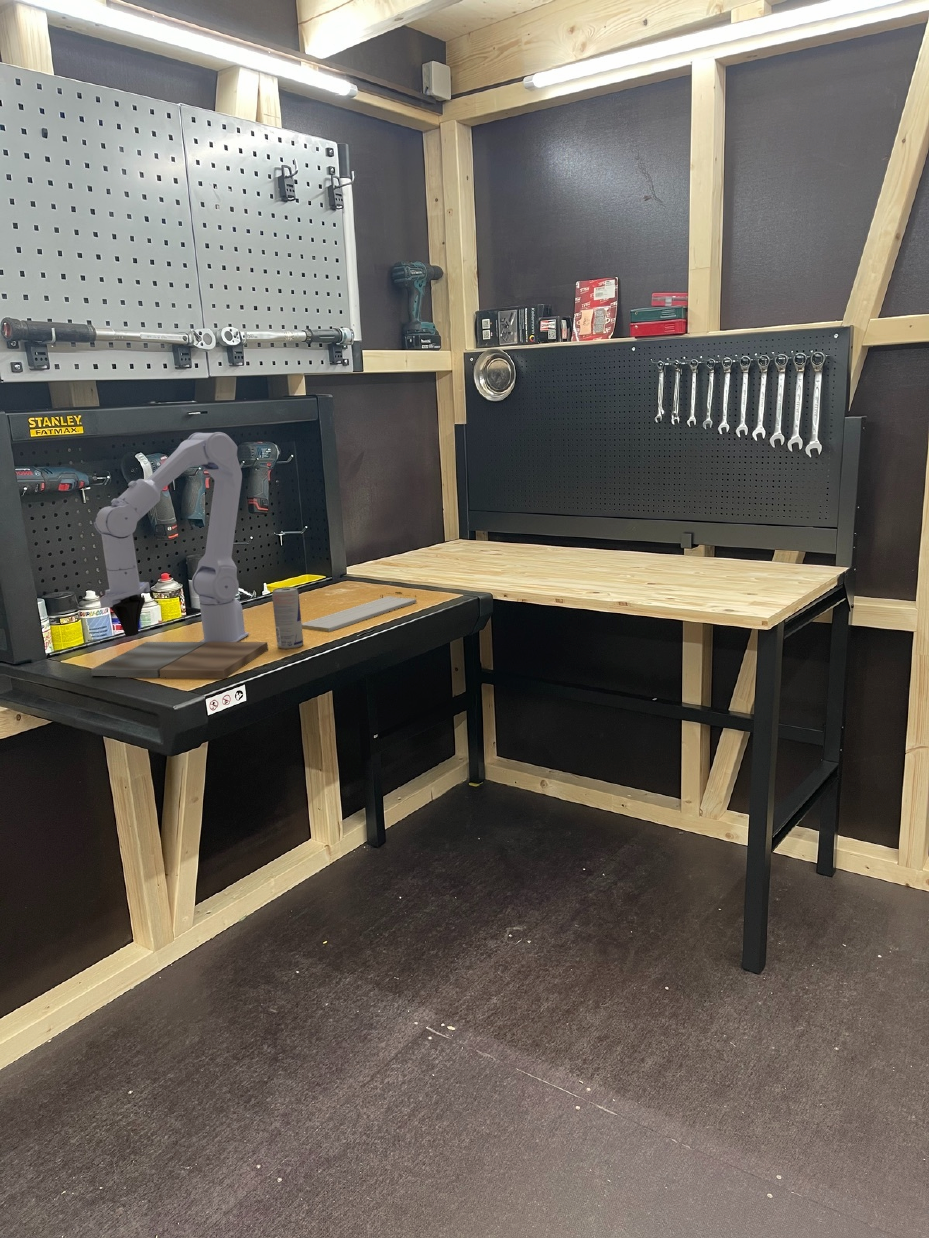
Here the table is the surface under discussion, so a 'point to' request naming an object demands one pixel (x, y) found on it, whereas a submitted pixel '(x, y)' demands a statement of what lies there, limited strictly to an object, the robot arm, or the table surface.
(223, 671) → the laid board
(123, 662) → the plank
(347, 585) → the table surface
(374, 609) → the baseboard molding
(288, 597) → the energy drink
